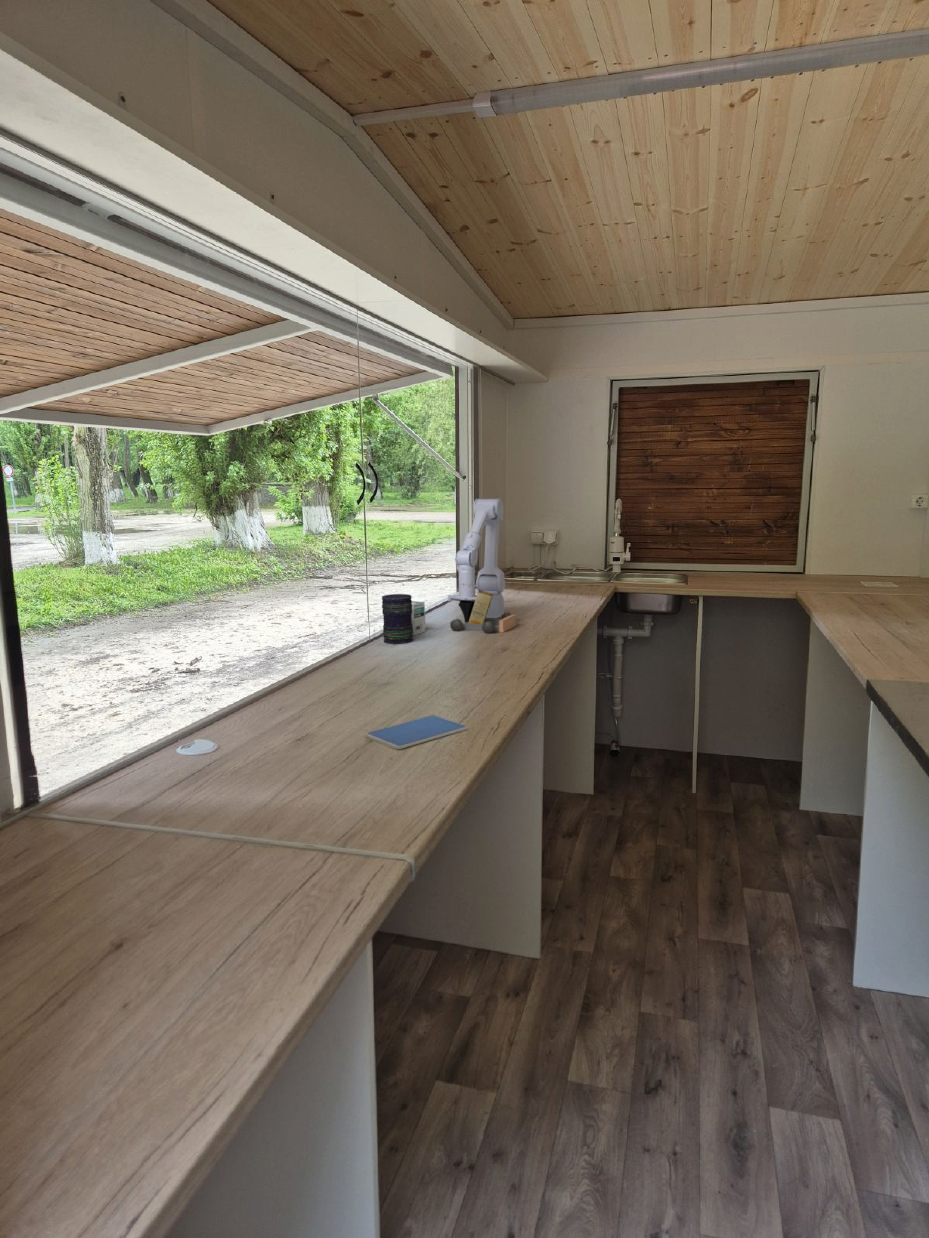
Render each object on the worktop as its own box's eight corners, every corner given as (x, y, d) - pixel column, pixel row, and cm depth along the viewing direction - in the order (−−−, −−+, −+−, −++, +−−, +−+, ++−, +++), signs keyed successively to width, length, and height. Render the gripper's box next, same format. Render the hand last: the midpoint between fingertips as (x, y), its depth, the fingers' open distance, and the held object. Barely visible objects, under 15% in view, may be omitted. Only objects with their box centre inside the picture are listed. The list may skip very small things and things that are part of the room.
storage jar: (412, 644, 265) (410, 598, 262) (381, 644, 265) (379, 599, 262) (414, 637, 275) (413, 593, 272) (385, 638, 275) (383, 594, 272)
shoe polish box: (483, 625, 292) (493, 594, 289) (481, 628, 287) (491, 596, 285) (470, 621, 293) (480, 589, 290) (467, 624, 288) (477, 592, 285)
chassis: (469, 621, 302) (469, 610, 301) (519, 624, 294) (519, 613, 293) (447, 630, 285) (447, 619, 284) (499, 634, 277) (499, 622, 276)
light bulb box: (426, 632, 284) (425, 601, 282) (415, 635, 278) (414, 604, 276) (401, 629, 290) (400, 599, 288) (389, 632, 284) (388, 602, 282)
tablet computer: (433, 719, 188) (433, 713, 188) (470, 731, 179) (469, 725, 178) (363, 738, 175) (363, 732, 175) (399, 753, 166) (399, 746, 166)
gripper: (443, 584, 288) (444, 622, 291) (481, 586, 282) (481, 625, 285) (452, 581, 295) (453, 619, 297) (489, 583, 289) (489, 621, 291)
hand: (467, 621), depth 291 cm, fingers closed
